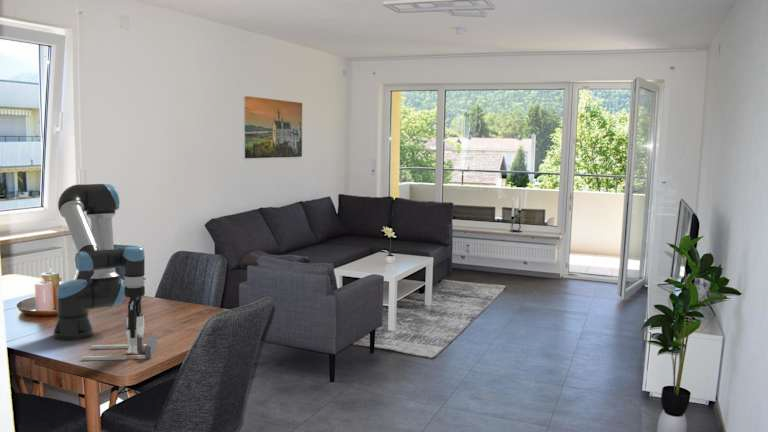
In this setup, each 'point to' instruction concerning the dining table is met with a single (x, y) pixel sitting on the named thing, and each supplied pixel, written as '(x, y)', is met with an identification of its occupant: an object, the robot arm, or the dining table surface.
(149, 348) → the guide track
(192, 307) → the dining table surface
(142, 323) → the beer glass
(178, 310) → the dining table surface
